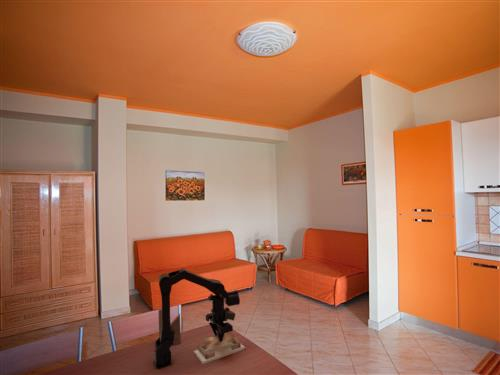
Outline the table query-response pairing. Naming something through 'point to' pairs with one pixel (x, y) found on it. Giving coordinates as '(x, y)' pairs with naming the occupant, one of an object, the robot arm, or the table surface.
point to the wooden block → (174, 323)
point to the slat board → (217, 351)
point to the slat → (215, 340)
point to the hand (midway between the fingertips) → (219, 340)
